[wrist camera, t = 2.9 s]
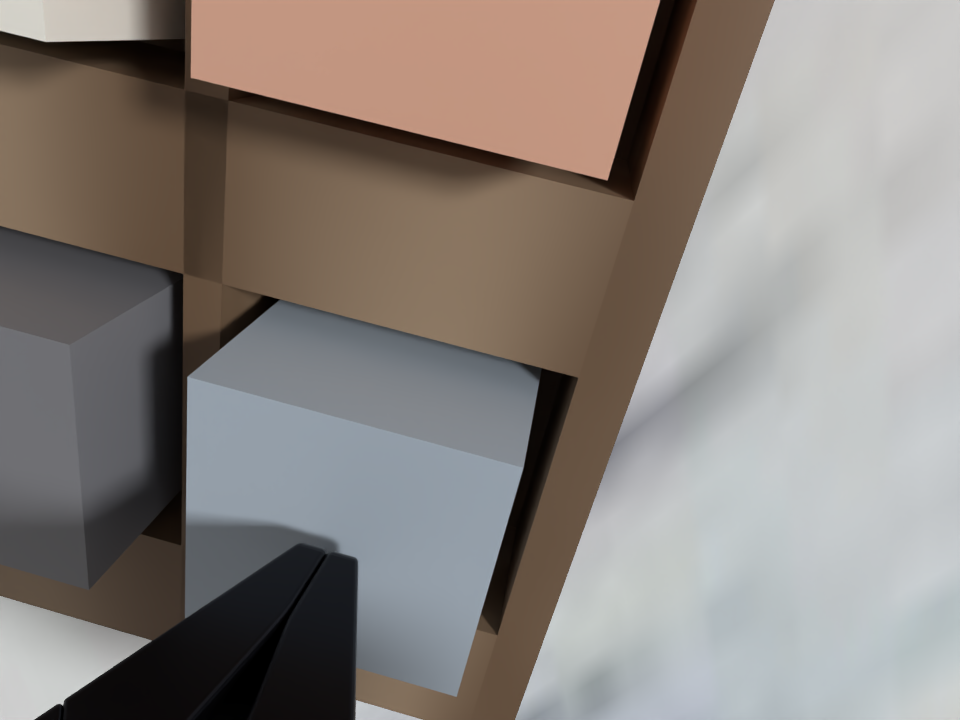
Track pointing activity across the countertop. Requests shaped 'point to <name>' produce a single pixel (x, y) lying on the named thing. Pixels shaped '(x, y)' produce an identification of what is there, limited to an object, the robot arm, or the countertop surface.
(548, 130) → the peach block
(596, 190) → the wooden sorting tray
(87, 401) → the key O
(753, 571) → the countertop surface
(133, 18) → the key
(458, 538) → the key
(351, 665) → the robot arm
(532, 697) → the countertop surface
